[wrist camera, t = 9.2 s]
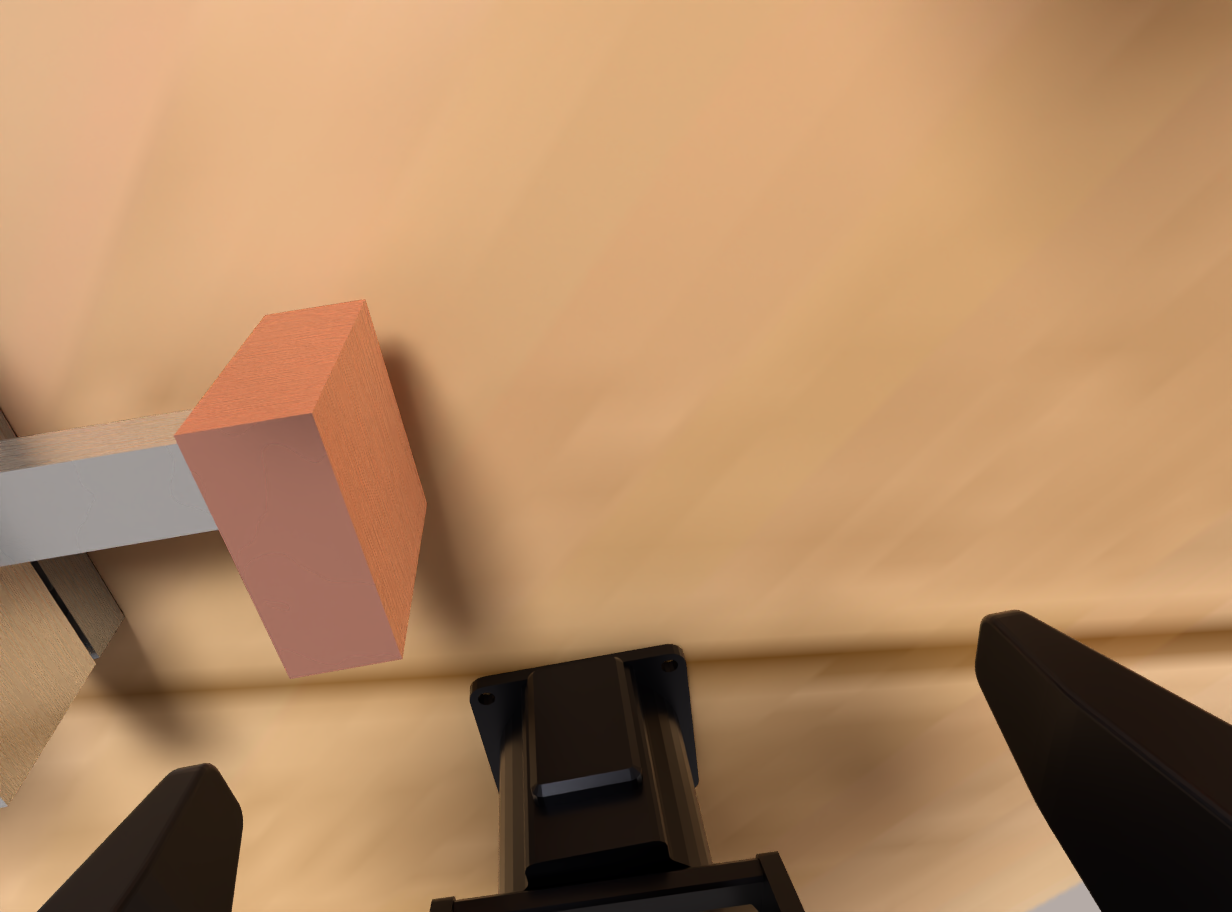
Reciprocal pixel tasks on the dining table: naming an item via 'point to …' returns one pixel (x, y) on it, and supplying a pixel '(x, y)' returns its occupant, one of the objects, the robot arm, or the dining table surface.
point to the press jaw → (224, 512)
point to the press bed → (78, 590)
